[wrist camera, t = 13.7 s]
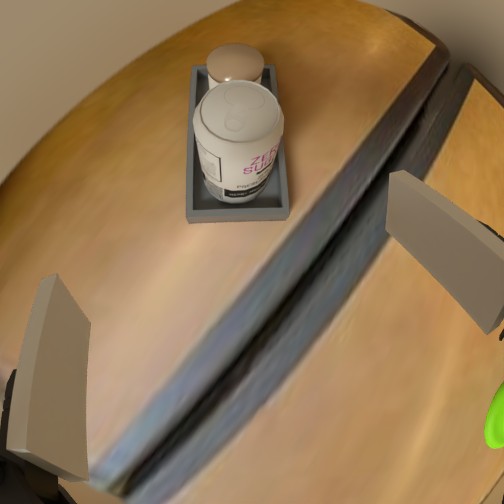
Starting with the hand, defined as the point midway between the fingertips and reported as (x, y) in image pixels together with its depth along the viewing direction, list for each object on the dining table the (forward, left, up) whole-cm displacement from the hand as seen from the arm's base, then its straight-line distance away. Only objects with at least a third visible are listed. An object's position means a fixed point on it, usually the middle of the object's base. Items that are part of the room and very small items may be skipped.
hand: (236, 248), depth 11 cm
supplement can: (+1, +14, -27) cm, 30 cm away
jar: (+1, +25, -27) cm, 37 cm away
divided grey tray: (+1, +20, -27) cm, 34 cm away
